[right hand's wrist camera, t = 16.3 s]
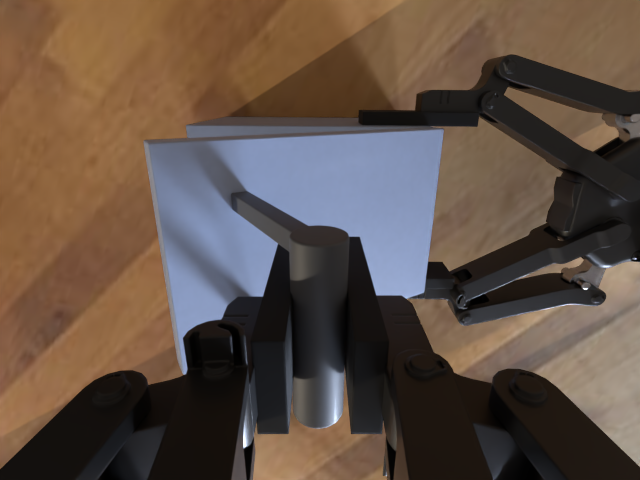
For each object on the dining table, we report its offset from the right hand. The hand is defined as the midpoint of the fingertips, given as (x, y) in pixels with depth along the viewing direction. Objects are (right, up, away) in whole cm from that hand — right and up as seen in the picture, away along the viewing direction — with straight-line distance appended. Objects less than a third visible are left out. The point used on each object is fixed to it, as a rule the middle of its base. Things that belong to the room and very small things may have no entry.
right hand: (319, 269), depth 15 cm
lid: (0, +1, +4) cm, 4 cm away
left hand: (+2, +4, +10) cm, 11 cm away
